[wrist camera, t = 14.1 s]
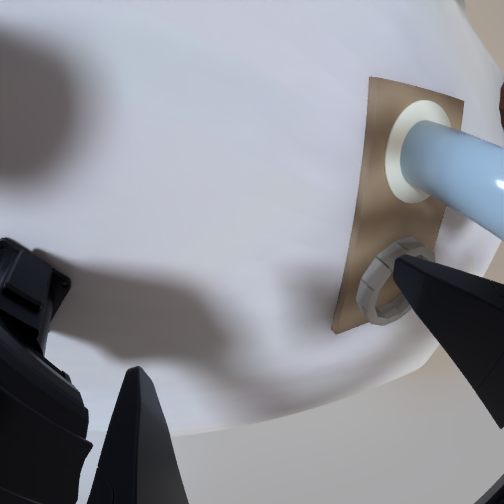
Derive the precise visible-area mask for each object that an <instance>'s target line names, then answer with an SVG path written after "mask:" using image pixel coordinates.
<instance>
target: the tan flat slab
mask: <svg viewBox="0 0 504 504" xmlns="http://www.w3.org/2000/svg"><path fill="white" fill-rule="evenodd" d="M463 108H464V101H462V100H460V99H457V98H454V97H451V96H447V95H444V94H441V93H438V92H434V91H431V90H427V89H424V88H420V87H417V86H413V85H409V84H405V83H401V82H396V81H392V80H387V79H383V78H378V77H369V94H368V108H367V120H366V131H365V141H364V150H363V159H362V167H361V175H360V182H359V190H358V196H357V203H356V209H355V216H354V222H353V228H352V233H351V239H350V245H349V250H348V255H347V260H346V265H345V270H344V275H343V280H342V285H341V289H340V294H339V298H338V303H337V307H336V311H335V315H334V320H333V324H332V328H331V329H332V331H333V332H334V333H335V334H339V333H342V332H344V331H347V330H350V329H352V328H355V327H358V326H360V325H363V324H365V323H368V322H370V323H371V324H375V325H381V326H383V325H386V324H389V323H391V322H393V321H395V320H398V319H399V318H401V317H402V316H403V315H404V314H405V313H407V312H408V311H409V310H410V309H411V308H412V307H411V306H410V304H409V303H408V301H407V300H406V298H405V297H404V295H403V294H402V292H401V291H400V289H399V288H398V286H397V285H396V284H395V282H394V280H393V268H394V261H395V259H396V258H397V257H399V256H401V255H403V254H407V255H411V256H414V257H418V258H421V259H424V260H428V261H431V262H434V263H435V254H434V252H433V249H434V245H435V242H436V239H437V236H438V232H439V229H440V225H441V222H442V218H443V214H444V210H445V207H446V204H444V203H442V202H441V201H439V200H437V199H435V198H434V197H432V196H430V195H428V194H426V193H424V192H423V191H421V190H419V189H417V188H415V187H413V186H411V185H410V184H408V183H407V182H406V181H405V179H404V177H403V175H402V172H401V167H400V154H401V149H402V145H403V142H404V139H405V137H406V135H407V133H408V132H409V130H410V129H411V128H412V127H413V126H414V125H415V124H416V123H418V122H420V121H422V120H429V121H432V122H435V123H439V124H442V125H445V126H448V127H451V128H453V129H456V130H459V131H461V124H462V116H463Z"/></svg>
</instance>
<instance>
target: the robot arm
mask: <svg viewBox="0 0 504 504" xmlns="http://www.w3.org/2000/svg"><path fill="white" fill-rule="evenodd" d="M2 244H4V245H5V247H3V246H2ZM393 280H394V282H395V284H396V285H397V286H398V288H399V289H400V291H401V292H402V294H403V295H404V297H405V298H406V300H407V301H408V303H409V304H410V306H411V307H412V309H413V310H414V311H415V313H416V314H417V315H418V317H419V318H420V319H421V320H422V322H423V323H424V324H425V325H426V327H427V328H428V329H429V330H430V332H431V333H432V334H433V335H434V337H435V338H436V339H437V341H438V342H439V343H440V344H441V346H442V347H443V348H444V350H445V351H446V352H447V353H448V355H449V356H450V357H451V359H452V360H453V361H454V363H455V364H456V365H457V367H458V368H459V369H460V371H461V372H462V374H463V375H464V376H465V378H466V379H467V380H468V382H469V383H470V385H471V386H472V388H473V389H474V390H475V392H476V394H477V395H478V396H479V398H480V399H481V400H482V402H483V403H484V405H485V407H486V408H487V409H488V411H489V413H490V414H491V416H492V417H493V419H494V420H495V422H496V423H497V425H498V426H499V428H500V429H502V428H503V427H504V284H501V283H498V282H495V281H490V280H489V279H485V278H482V277H479V276H476V275H473V274H470V273H467V272H464V271H460V270H457V269H454V268H451V267H448V266H444V265H441V264H438V263H434V262H431V261H428V260H424V259H421V258H418V257H414V256H411V255H407V254H403V255H401V256H399V257H397V258H396V259H395V261H394V268H393ZM63 283H67V285H64V284H63ZM70 288H71V280H70V279H69V278H68V277H66V276H65V275H63V274H61V273H60V272H58V271H56V270H55V269H53V268H51V266H49V265H48V264H46V263H44V262H43V261H41V260H40V259H38V258H36V257H35V256H33V255H32V254H30V253H29V252H27V251H25V250H23V249H21V248H20V247H18V246H17V245H15V244H14V243H12V242H11V241H9V240H8V239H6V238H1V239H0V504H76V502H77V500H78V488H79V478H80V473H81V469H82V466H83V464H84V461H85V458H86V457H87V455H88V454H89V452H90V450H91V449H92V447H93V444H92V443H91V442H89V441H87V440H86V436H87V430H88V424H89V415H88V409H87V408H86V407H84V403H83V400H82V397H81V394H80V392H79V391H78V390H77V389H76V388H75V386H74V385H72V383H71V380H70V377H69V375H68V374H66V373H65V372H64V371H60V370H59V369H58V368H57V367H55V366H54V365H53V364H52V363H51V362H49V361H48V360H47V359H46V358H45V357H44V355H45V349H46V342H47V336H48V331H49V325H50V322H51V320H52V318H53V317H54V315H55V313H56V311H57V310H58V308H59V306H60V305H61V303H62V301H63V300H64V298H65V296H66V295H67V293H68V291H69V290H70ZM87 504H189V503H188V499H187V497H186V493H185V490H184V486H183V483H182V480H181V476H180V472H179V469H178V465H177V461H176V458H175V454H174V450H173V446H172V442H171V438H170V433H169V430H168V426H167V423H166V420H165V417H164V414H163V412H162V409H161V406H160V403H159V400H158V397H157V393H156V390H155V387H154V384H153V382H152V380H151V379H150V378H149V376H148V375H147V374H146V373H145V371H144V370H143V369H142V368H141V367H140V366H136V367H133V368H130V369H128V370H127V372H126V374H125V377H124V380H123V383H122V386H121V389H120V392H119V395H118V398H117V401H116V405H115V408H114V411H113V414H112V417H111V421H110V424H109V427H108V431H107V434H106V438H105V441H104V444H103V448H102V451H101V455H100V459H99V463H98V468H97V470H96V474H95V478H94V481H93V485H92V489H91V492H90V495H89V498H88V501H87ZM474 504H504V474H503V475H502V476H501V478H500V479H499V480H498V481H497V482H496V483H495V484H494V485H493V486H492V487H491V488H490V489H489V490H488V491H487V492H486V493H485V494H484V495H483V496H482V497H481V498H480V499H479V500H478V501H477V502H475V503H474Z"/></svg>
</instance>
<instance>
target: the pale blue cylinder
mask: <svg viewBox="0 0 504 504" xmlns="http://www.w3.org/2000/svg"><path fill="white" fill-rule="evenodd" d="M400 167H401V172H402V175H403V177H404V179H405V181H406V182H407V183H408V184H410V185H411V186H413V187H415V188H417V189H419V190H421V191H423V192H424V193H426V194H428V195H430V196H432V197H434V198H435V199H437V200H439V201H441V202H442V203H444V204H446V205H447V206H449V207H451V208H453V209H454V210H456V211H458V212H459V213H461V214H463V215H464V216H466V217H467V218H469V219H471V220H472V221H474V222H475V223H477V224H479V225H480V226H482V227H483V228H485V229H486V230H488V231H489V232H491V233H492V234H494V235H495V236H497V237H498V238H500V239H501V240H502V241H504V148H502V147H500V146H497V145H495V144H493V143H490V142H488V141H485V140H483V139H480V138H478V137H475V136H473V135H470V134H467V133H465V132H462V131H459V130H456V129H453V128H451V127H448V126H445V125H442V124H439V123H435V122H432V121H429V120H422V121H420V122H418V123H416V124H415V125H414V126H413V127H412V128H411V129H410V130H409V132H408V133H407V135H406V137H405V139H404V142H403V145H402V149H401V154H400Z"/></svg>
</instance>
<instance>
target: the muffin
mask: <svg viewBox="0 0 504 504" xmlns="http://www.w3.org/2000/svg"><path fill="white" fill-rule="evenodd" d="M499 110H500V115H501V124H502V125H503V126H504V83H503V85H502V87H501V94H500V105H499Z"/></svg>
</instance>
